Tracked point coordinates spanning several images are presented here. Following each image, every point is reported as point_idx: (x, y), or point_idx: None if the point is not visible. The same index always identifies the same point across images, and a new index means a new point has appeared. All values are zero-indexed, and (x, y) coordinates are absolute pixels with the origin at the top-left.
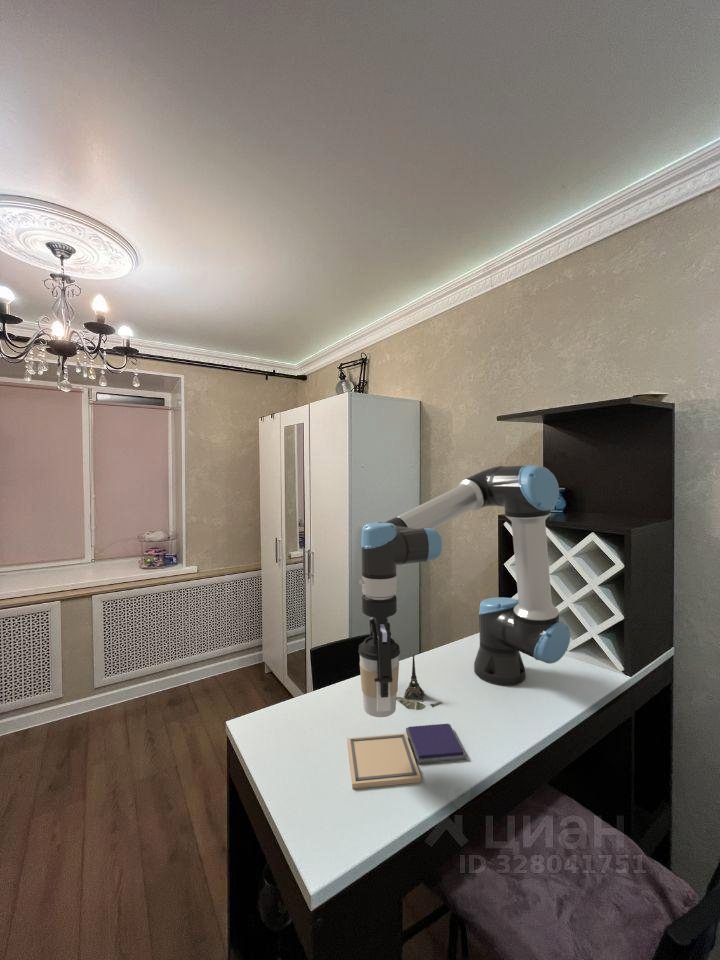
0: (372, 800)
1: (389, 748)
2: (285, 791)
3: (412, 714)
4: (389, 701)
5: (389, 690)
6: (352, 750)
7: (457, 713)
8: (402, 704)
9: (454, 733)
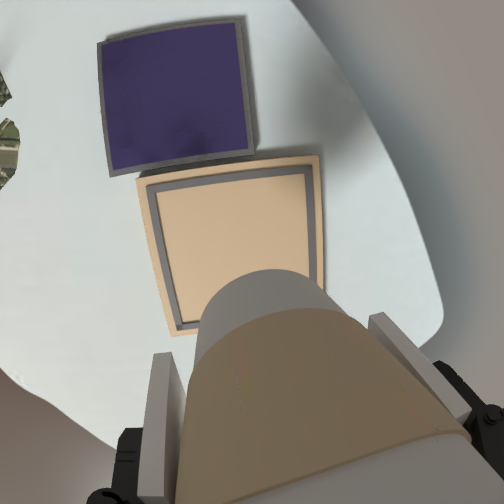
0: (351, 266)
1: (206, 230)
2: None
3: (37, 156)
4: (405, 338)
5: (434, 371)
6: None
7: (42, 29)
8: (1, 187)
9: (141, 32)
